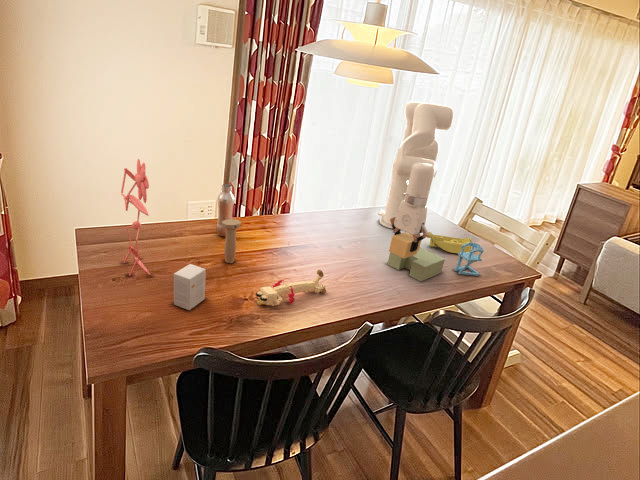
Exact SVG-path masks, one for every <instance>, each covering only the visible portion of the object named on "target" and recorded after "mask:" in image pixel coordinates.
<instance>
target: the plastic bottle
mask: <svg viewBox="0 0 640 480" xmlns="http://www.w3.org/2000/svg"><path fill="white" fill-rule="evenodd" d="M220 190H221V192H220V193H219V194H218V196H217V199H216V200H217V212H218V213H217V222H216V227H215V230H216V233H217V235H218V236H220V237H226V228H224V227H223V226H222V221H224V220H228V219H233V212H234V207H235V196H234V193H232V192H233V186H232V185H231V184H228V183H223V184H221V189H220Z"/></svg>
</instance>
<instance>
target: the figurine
mask: <svg viewBox="0 0 640 480" xmlns="http://www.w3.org/2000/svg"><path fill="white" fill-rule="evenodd" d="M123 172H124V173H123V177H122V184H121V190H120V193H121V196H122V197H123V200H124V206H125V208H124V209H125V211H126V212H128V210H129V203H130V204H131V205H133V206H134V207H135V208H136V209H137V220H134V221H133V222H132V224H131V225H130V226H126V232H127V235H128V239H129V243H130V245H128V246H127V247H128V252H127V254H126V256H125V258H124V260H123V262H122V263H123V264H126V262H127V260H128V258H129V256H130V254H131V253H132V254H133V255H134V260H135V262H134V264H133V265H132V268H131V269H130V272H129V273H128V276H129V277H131V276H132V274H133V272H134V270H135V269H136V266H137V264H138V266H139V267H140V269H142V270H143V271H144V272H145V274H147V275H148V276H151V273H150V271H149V270H148V269H147V267H146V266H145V264H144V263H143V262H142V261H141V260H140V257H141V255H140V253H139V246H138V244H139V243H138V239H139V233H140V230H141V228H142V223H141V222H140V213H141V214H144V215H145V216H147V217H148V216H150V214H149V212H148V210H147V208H146V206H145V205H144V204H146V203H147V200H148V191H147V190H148V189H149V188H150V183H149V179H148V177H147V175H146V173H147V172H146V163H145V162H144V161H143V162H142V163H141V160H140V158H137V161H136V173H135V174H133V173H132V172H131V171H130V170H129V169H128V168H127V167H125V168H123ZM127 176H128V177H129V178H131V179H132V181H134V183H133V185H132V187H131V188H130V190H129V191H128V192H127V195H125V194H124V189H125V183H126V177H127ZM135 187H137V196H138V197H136V195H133V194H131V193H132V192H133V190H134V189H135ZM141 200H143V202H142V201H141ZM130 228H132V229H133V230H136V231H137V232H136V237H135V238H136V239H135V245H136V247H134V246H133V244H132V239H131V235H130V231H129V229H130ZM135 248H136V249H135ZM151 254H153V255H156V256H159V257H161V258H164V259H165V260H167V258H166V257H165V256H163V255H160V254H157V253H153V252H151ZM170 264H172V261H170ZM171 270H172V269H170V271H171Z"/></svg>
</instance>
